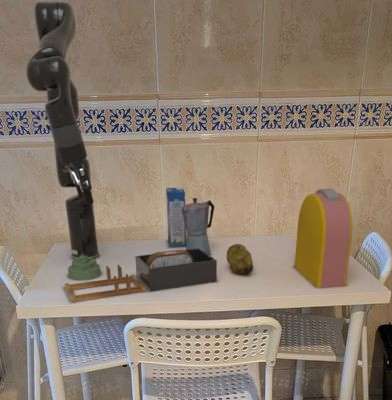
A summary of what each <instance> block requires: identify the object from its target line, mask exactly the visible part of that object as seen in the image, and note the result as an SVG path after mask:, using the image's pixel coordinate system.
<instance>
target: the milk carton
mask: <svg viewBox="0 0 392 400" xmlns="http://www.w3.org/2000/svg"><path fill="white" fill-rule="evenodd" d="M165 191H166V214H167V215H166V216H167V217H166V218H167V242H168V245H169V248H183V247H184V248H186V241H187V230H186V228H185V224H184V219H183V214H182V212H181V210H182V208H181V207H182V206H184V205H186V191H185V189H184V187H166V189H165Z"/></svg>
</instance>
